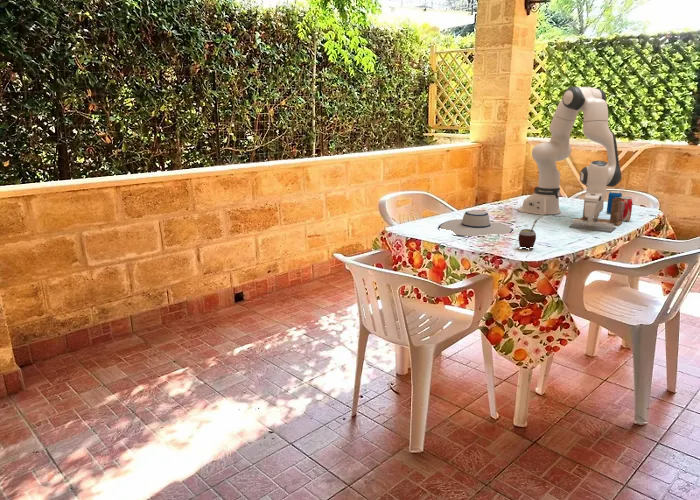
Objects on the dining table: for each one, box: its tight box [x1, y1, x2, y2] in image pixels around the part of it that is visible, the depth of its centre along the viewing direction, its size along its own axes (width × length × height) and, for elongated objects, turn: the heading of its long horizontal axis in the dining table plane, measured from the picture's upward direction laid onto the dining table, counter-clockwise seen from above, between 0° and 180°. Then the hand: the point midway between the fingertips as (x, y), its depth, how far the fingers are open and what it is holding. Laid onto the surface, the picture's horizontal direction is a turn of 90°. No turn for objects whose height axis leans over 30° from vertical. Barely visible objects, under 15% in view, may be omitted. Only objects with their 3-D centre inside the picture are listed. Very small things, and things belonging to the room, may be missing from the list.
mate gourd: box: [518, 215, 544, 248], centre depth 219 cm, size 8×8×15 cm
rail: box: [572, 218, 615, 229], centre depth 253 cm, size 18×3×2 cm, turn 52°
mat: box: [568, 223, 617, 234], centre depth 253 cm, size 19×10×1 cm, turn 52°
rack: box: [579, 197, 624, 227], centre depth 263 cm, size 19×8×13 cm, turn 52°
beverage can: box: [606, 190, 623, 215], centre depth 281 cm, size 6×6×12 cm
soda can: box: [619, 196, 633, 223], centre depth 265 cm, size 7×7×12 cm
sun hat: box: [438, 209, 514, 238], centre depth 256 cm, size 36×36×9 cm
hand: (592, 223), depth 253 cm, fingers open, 8 cm apart
